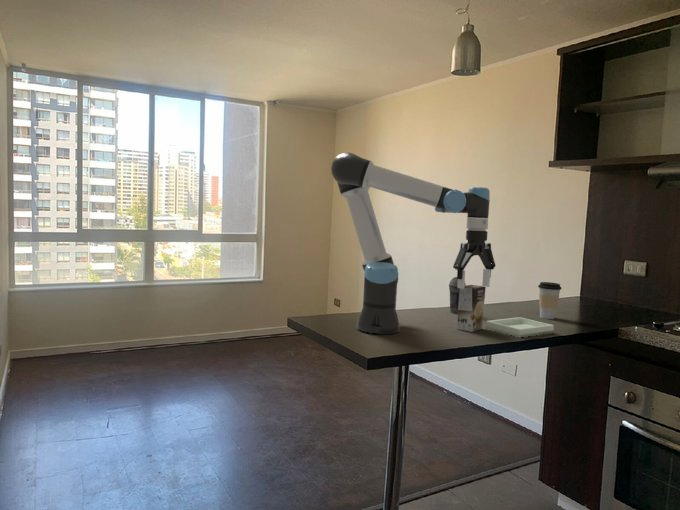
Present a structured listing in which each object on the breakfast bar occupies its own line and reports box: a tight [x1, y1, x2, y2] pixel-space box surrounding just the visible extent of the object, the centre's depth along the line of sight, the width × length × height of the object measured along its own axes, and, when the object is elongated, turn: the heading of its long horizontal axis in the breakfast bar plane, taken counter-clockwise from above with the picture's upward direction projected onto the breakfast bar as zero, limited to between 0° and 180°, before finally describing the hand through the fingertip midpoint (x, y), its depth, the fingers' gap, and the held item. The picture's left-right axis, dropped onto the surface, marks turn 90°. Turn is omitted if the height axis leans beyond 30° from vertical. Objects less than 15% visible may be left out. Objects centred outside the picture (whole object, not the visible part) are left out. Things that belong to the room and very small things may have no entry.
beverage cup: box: [448, 276, 467, 315], centre depth 222 cm, size 7×7×20 cm
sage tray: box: [485, 316, 555, 339], centre depth 192 cm, size 20×15×3 cm
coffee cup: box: [537, 281, 562, 320], centre depth 221 cm, size 9×9×15 cm
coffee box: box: [456, 284, 487, 333], centre depth 191 cm, size 9×6×16 cm
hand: (473, 287), depth 190 cm, fingers open, 13 cm apart
